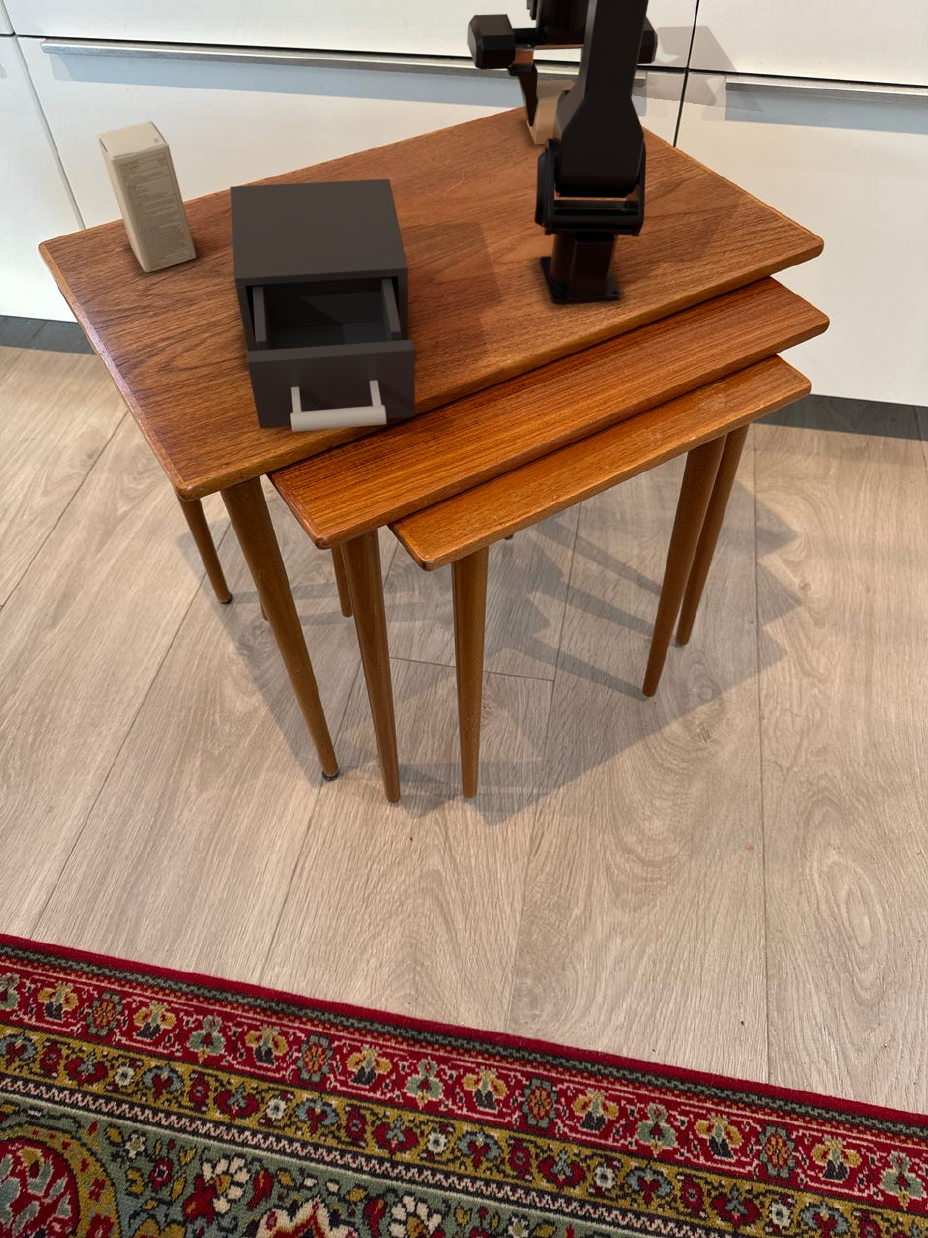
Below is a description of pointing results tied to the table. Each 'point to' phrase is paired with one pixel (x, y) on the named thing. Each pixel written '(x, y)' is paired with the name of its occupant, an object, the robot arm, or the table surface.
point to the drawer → (330, 355)
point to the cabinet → (315, 239)
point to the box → (148, 195)
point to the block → (547, 108)
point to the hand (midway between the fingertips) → (551, 123)
